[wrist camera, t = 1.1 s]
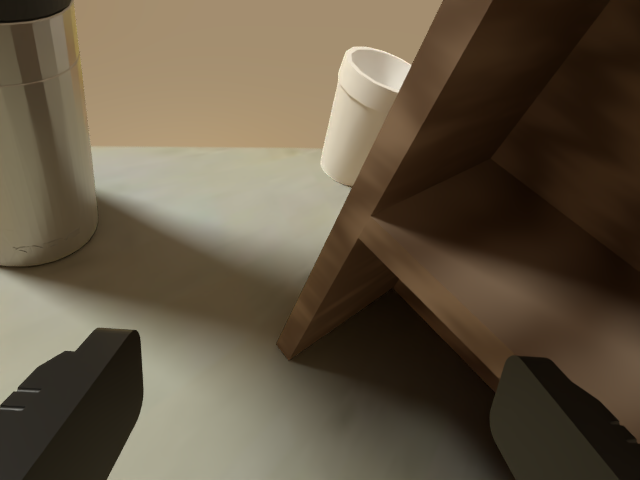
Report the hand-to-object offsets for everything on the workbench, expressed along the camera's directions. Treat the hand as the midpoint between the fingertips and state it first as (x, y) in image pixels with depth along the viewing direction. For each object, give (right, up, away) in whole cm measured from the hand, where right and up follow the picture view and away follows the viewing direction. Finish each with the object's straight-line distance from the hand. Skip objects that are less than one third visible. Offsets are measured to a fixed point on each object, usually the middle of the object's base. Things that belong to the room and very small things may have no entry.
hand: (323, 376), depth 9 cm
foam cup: (+3, +12, +41) cm, 43 cm away
